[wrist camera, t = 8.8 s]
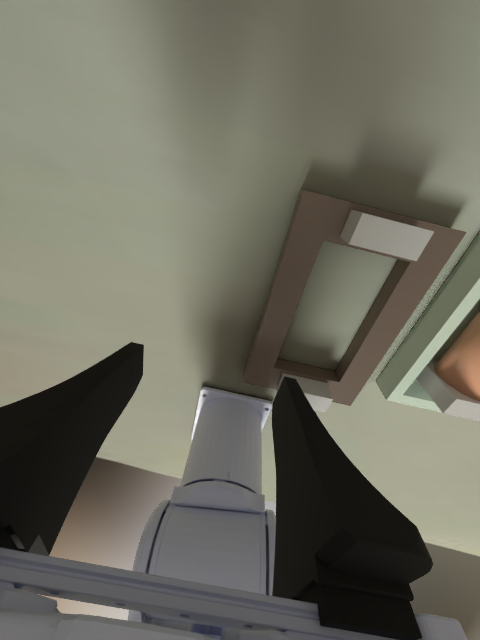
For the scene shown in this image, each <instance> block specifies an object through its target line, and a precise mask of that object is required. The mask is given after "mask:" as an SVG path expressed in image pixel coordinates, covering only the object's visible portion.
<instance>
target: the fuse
mask: <svg viewBox="0 0 480 640" xmlns="http://www.w3.org/2000/svg"><path fill="white" fill-rule="evenodd" d="M416 380H417V381H418V382H419V384H420V385H421V386H422V387H423V389H424V390H425V391H426V392H427V394H428V395H429V396H430V397H431V399H432V400H433V401H434V402H435V404H436V405H437V406H438V408H439V409H440V410H441V411H442V413H444V414H449V415H453V416H458V417H462V418H467V419H471V420H476V421H480V311H479V312H478V313H477V314H476V316H475V317H474V318H473V319H472V320H471V322H470V323H469V324H468V325H467V327H466V328H465V329H464V330H463V331H462V333H461V334H460V335H459V336H458V337H457V339H456V340H455V341H454V342H453V344H452V345H451V346H450V347H449V348H448V350H447V351H446V352H445V353H444V354H443V356H442V357H441V358H440V359H439V361H436V360H430V361H429V363H428V364H427V365H426V366H425V368H424V369H423V370H422V371H421V373H420V374H419V375H418V376H417V378H416Z"/></svg>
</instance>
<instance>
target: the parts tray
mask: <svg viewBox="0 0 480 640" xmlns="http://www.w3.org/2000/svg"><path fill="white" fill-rule="evenodd" d="M479 311H480V232H479V233H478V235H477V236H476V238H475V239H474V241H473V242H472V243H471V245H470V246H469V248H468V249H467V251H466V252H465V253H464V255H463V256H462V258H461V259H460V261H459V262H458V264H457V265H456V266H455V268H454V269H453V271H452V272H451V274H450V275H449V277H448V278H447V279H446V281H445V282H444V284H443V285H442V287H441V288H440V290H439V291H438V292H437V294H436V295H435V297H434V298H433V300H432V301H431V302H430V304H429V305H428V307H427V308H426V310H425V311H424V313H423V314H422V315H421V317H420V318H419V320H418V321H417V323H416V324H415V326H414V327H413V328H412V330H411V331H410V333H409V334H408V336H407V337H406V338H405V340H404V341H403V343H402V344H401V346H400V347H399V349H398V350H397V351H396V353H395V354H394V356H393V357H392V359H391V360H390V362H389V363H388V364H387V366H386V367H385V369H384V370H383V372H382V373H381V375H380V376H379V377H378V379H377V380H376V383H377V385H378V386H379V388H380V390H381V392H382V393H383V395H384V397H385V399H386V400H388V401H393V402H397V403H402V404H406V405H411V406H415V407H420V408H424V409H429V410H433V411H438V412H442V411H441V410H440V409H439V408H438V406H437V405H436V404H435V402H434V401H433V400H432V399H431V397H430V396H429V395H428V394H427V392H426V391H425V390H424V389H423V387H422V386H421V385H420V384H419V382H418V381H417V380H416V378H417V376H418V375H419V374H420V373H421V371H422V370H423V369H424V368H425V366H426V365H427V364H428V363H429V361H430V360H436V361H439V359H440V358H441V357H442V356H443V354H444V353H445V352H446V351H447V350H448V348H449V347H450V346H451V345H452V344H453V342H454V341H455V340H456V339H457V337H458V336H459V335H460V334H461V333H462V331H463V330H464V329H465V328H466V327H467V325H468V324H469V323H470V322H471V320H472V319H473V318H474V317H475V316H476V314H477V313H478V312H479Z"/></svg>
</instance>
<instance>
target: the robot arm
mask: <svg viewBox="0 0 480 640" xmlns="http://www.w3.org/2000/svg"><path fill="white" fill-rule="evenodd" d="M143 349H144V345H142V344H137V343H133V342H131V343H129V344H128V345H126V346H124V347H123V348H121V349H120V350H118V351H116V352H115V353H113V354H112V355H110V356H108V357H107V358H105V359H104V360H102V361H100V362H99V363H97V364H95V365H94V366H92V367H90V368H88V369H87V370H85V371H83V372H81V373H79V374H77V375H76V376H74V377H72V378H70V379H68V380H66V381H64V382H62V383H60V384H58V385H55V386H53V387H51V388H49V389H47V390H44V391H42V392H40V393H37V394H35V395H32V396H30V397H27V398H24V399H22V400H19V401H17V402H14V403H12V404H9V405H6V406H3V407H0V640H467V638H466V636H465V634H464V631H463V629H462V627H461V625H460V623H459V622H458V621H457V620H456V619H452V618H447V617H442V616H436V615H430V614H414V613H413V610H412V607H411V604H410V601H412V600H413V597H414V596H413V594H412V591H411V589H410V586H409V583H411V582H413V581H415V580H416V579H418V578H420V577H422V576H424V575H425V574H427V573H428V572H430V570H431V568H432V566H433V562H432V559H431V557H430V555H429V552H428V550H427V548H426V546H425V544H424V541H423V539H422V537H421V535H420V533H419V531H418V529H417V527H416V526H415V525H414V524H413V523H412V522H411V521H410V520H409V519H408V518H406V517H405V516H404V515H403V514H402V513H401V512H400V511H399V510H398V509H397V508H395V507H394V506H393V505H392V504H391V503H390V502H389V501H388V500H387V499H386V498H385V497H384V496H383V495H382V494H381V493H380V492H379V491H378V490H377V489H376V488H375V487H374V486H373V485H372V484H371V483H370V482H369V481H368V480H367V479H366V478H365V477H364V476H363V475H362V474H361V472H360V471H359V470H358V469H357V468H356V467H355V466H354V465H353V463H352V462H351V461H350V460H349V459H348V458H347V456H346V455H345V454H344V453H343V451H342V450H341V449H340V448H339V446H338V445H337V444H336V442H335V441H334V440H333V438H332V437H331V436H330V434H329V433H328V431H327V430H326V429H325V427H324V426H323V424H322V423H321V421H320V420H319V418H318V416H317V415H316V413H315V411H314V410H313V408H312V407H311V405H310V403H309V401H308V400H307V398H306V396H305V394H304V393H303V391H302V389H301V387H300V385H299V384H298V382H297V380H296V379H294V378H290V377H285V376H284V378H283V380H282V383H281V385H280V387H279V390H278V392H277V394H276V397H275V399H274V401H273V406H272V402H271V401H269V400H264V399H260V398H255V397H250V396H246V395H241V394H237V393H232V392H228V391H223V390H218V389H214V388H209V387H202V388H201V391H200V395H199V400H198V405H197V410H196V415H195V420H194V425H193V430H192V436H191V440H192V444H191V447H190V451H189V455H188V459H187V463H186V466H185V470H184V474H183V478H182V482H181V486H180V487H177V486H175V487H174V490H173V494H172V497H171V500H164V501H162V502H161V503H160V504H159V506H158V507H157V508H156V509H155V510H154V511H153V512H152V514H151V515H150V517H149V519H148V521H147V524H146V526H145V528H144V531H143V533H142V536H141V539H140V543H139V546H138V549H137V553H136V557H135V561H134V566H133V571H129V570H124V569H118V568H112V567H107V566H101V565H96V564H90V563H85V562H79V561H73V560H68V559H62V558H56V557H51V556H49V554H50V552H51V550H52V548H53V545H54V543H55V541H56V538H57V536H58V533H59V532H60V529H61V527H62V525H63V523H64V520H65V518H66V516H67V514H68V512H69V510H70V508H71V505H72V503H73V501H74V499H75V497H76V495H77V493H78V491H79V489H80V486H81V485H82V482H83V480H84V479H85V477H86V475H87V473H88V471H89V469H90V467H91V465H92V462H93V461H94V459H95V457H96V455H97V453H98V451H99V449H100V447H101V445H102V443H103V442H104V440H105V438H106V437H107V435H108V433H109V432H110V430H111V429H112V427H113V426H114V424H115V422H116V421H117V419H118V418H119V416H120V415H121V413H122V412H123V410H124V408H125V407H126V405H127V404H128V402H129V401H130V399H131V397H132V396H133V394H134V392H135V390H136V388H137V386H138V384H139V382H140V380H141V378H142V376H143ZM204 394H206V395H204ZM271 409H272V430H273V441H274V453H275V464H276V516H275V514H274V512H273V511H272V510H266V511H265V504H264V503H265V496H264V495H262V442H261V432H262V430H263V427H264V425H265V423H266V420H267V418H268V416H269V413H270V411H271ZM38 594H40V595H38ZM41 595H46V596H52V597H58V598H64V599H70V600H76V601H81V602H87V603H94V604H99V605H105V606H111V607H117V608H123V609H128V610H129V615H128V621H126V620H119V619H112V618H106V617H100V616H92V615H82V614H75V615H74V614H63V613H60V612H59V611H58V609H57V608H56V607H57V601H56V600H53V599H50V598H47V597H44V596H41Z"/></svg>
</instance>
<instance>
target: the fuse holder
mask: <svg viewBox="0 0 480 640" xmlns="http://www.w3.org/2000/svg"><path fill="white" fill-rule="evenodd" d="M465 234H466V232H464V231H460V230H456V229H452V228H448V227H444V226H441V225H437V224H433V223H429V222H425V221H422V220H418V219H414V218H410V217H406V216H402V215H399V214H395V213H391V212H387V211H383V210H380V209H376V208H372V207H368V206H364V205H360V204H357V203H353V202H349V201H345V200H341V199H338V198H334V197H330V196H326V195H322V194H318V193H315V192H311V191H307V190H303V189H301V191H300V194H299V197H298V200H297V203H296V207H295V210H294V213H293V216H292V220H291V223H290V226H289V229H288V232H287V236H286V239H285V242H284V245H283V249H282V252H281V255H280V258H279V261H278V265H277V268H276V271H275V274H274V278H273V281H272V284H271V287H270V290H269V294H268V297H267V300H266V303H265V307H264V310H263V313H262V316H261V319H260V323H259V326H258V329H257V332H256V336H255V339H254V342H253V345H252V348H251V352H250V355H249V358H248V361H247V365H246V368H245V371H244V380H243V382H245V383H249V384H254V385H258V386H263V387H267V388H272V389H276V390H277V391H278V390H279V387H280V385H281V383H282V380H283V378H284V376H285V377H290V378H294V379H296V380H297V382H298V384H299V385H300V387H301V389H302V391H303V393H304V394H305V396H306V398H307V400H308V401H309V403H310V405H311V407H312V408H313V410H314V411H319V412H324V413H325V412H326V410H327V409H328V407H329V405H330V404H331V402H335V403H340V404H344V405H349V406H351V404H352V403H353V401H354V400H355V398H356V397H357V395H358V394H359V392H360V391H361V389H362V388H363V386H364V385H365V383H366V382H367V380H368V379H369V377H370V376H371V374H372V373H373V371H374V370H375V368H376V367H377V365H378V364H379V362H380V361H381V359H382V358H383V356H384V355H385V353H386V352H387V350H388V349H389V347H390V346H391V344H392V343H393V341H394V340H395V338H396V337H397V335H398V334H399V332H400V331H401V329H402V328H403V326H404V325H405V323H406V322H407V320H408V319H409V317H410V316H411V315H412V313H413V312H414V310H415V309H416V307H417V306H418V304H419V303H420V301H421V300H422V298H423V297H424V295H425V294H426V292H427V291H428V289H429V288H430V286H431V285H432V283H433V282H434V280H435V279H436V277H437V276H438V274H439V273H440V271H441V270H442V268H443V267H444V265H445V264H446V262H447V261H448V259H449V258H450V256H451V255H452V253H453V252H454V250H455V249H456V247H457V246H458V244H459V243H460V241H461V240H462V238H463V237H464V235H465ZM323 240H325V241H329V242H333V243H337V244H341V245H345V246H349V247H353V248H357V249H361V250H365V251H369V252H373V253H377V254H380V255H384V256H388V257H392V258H396V259H398V261H397V263H396V264H395V266H394V268H393V270H392V272H391V273H390V275H389V277H388V279H387V280H386V282H385V284H384V286H383V288H382V289H381V291H380V293H379V295H378V296H377V298H376V300H375V302H374V303H373V305H372V307H371V309H370V311H369V312H368V314H367V316H366V318H365V319H364V321H363V323H362V325H361V327H360V328H359V330H358V332H357V334H356V335H355V337H354V339H353V341H352V343H351V344H350V346H349V348H348V350H347V351H346V353H345V355H344V357H343V359H342V360H341V362H340V364H339V366H338V367H337V369H336V371H331V370H326V369H322V368H317V367H313V366H309V365H304V364H300V363H295V362H291V361H286V360H282V359H278V355H279V353H280V350H281V348H282V345H283V342H284V340H285V337H286V335H287V332H288V330H289V327H290V324H291V322H292V319H293V317H294V314H295V312H296V309H297V306H298V304H299V301H300V299H301V296H302V293H303V291H304V288H305V286H306V283H307V281H308V278H309V275H310V273H311V270H312V268H313V265H314V263H315V260H316V257H317V255H318V252H319V250H320V247H321V244H322V242H323Z"/></svg>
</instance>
